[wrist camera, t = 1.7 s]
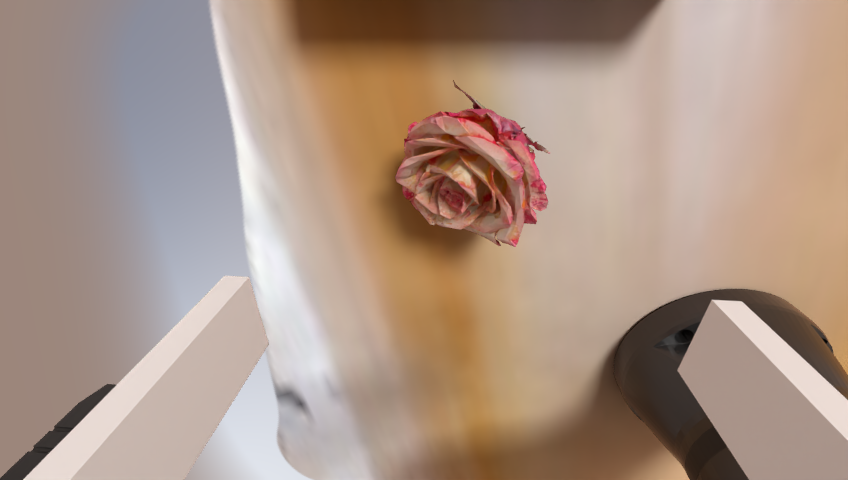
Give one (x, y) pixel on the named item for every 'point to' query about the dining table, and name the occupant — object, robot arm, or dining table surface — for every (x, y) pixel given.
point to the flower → (473, 173)
